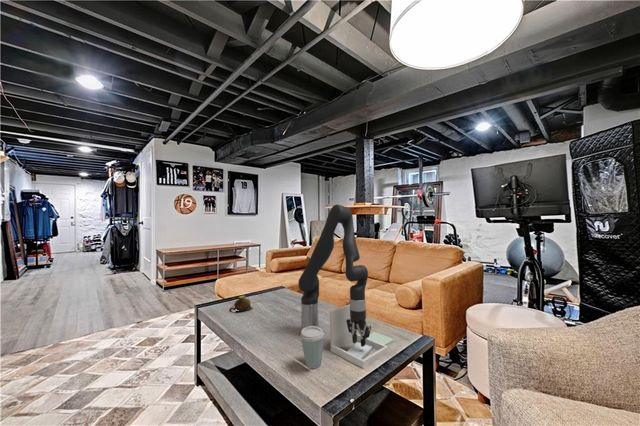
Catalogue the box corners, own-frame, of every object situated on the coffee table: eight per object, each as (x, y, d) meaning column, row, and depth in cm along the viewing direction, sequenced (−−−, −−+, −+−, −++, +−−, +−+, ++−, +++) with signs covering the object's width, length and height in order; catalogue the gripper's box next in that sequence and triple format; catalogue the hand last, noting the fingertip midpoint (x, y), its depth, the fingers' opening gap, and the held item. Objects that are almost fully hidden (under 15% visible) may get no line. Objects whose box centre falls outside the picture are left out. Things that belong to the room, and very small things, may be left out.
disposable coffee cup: (330, 366, 113) (329, 331, 113) (309, 375, 107) (308, 338, 107) (316, 355, 122) (315, 323, 122) (296, 363, 116) (295, 329, 116)
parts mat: (382, 349, 126) (382, 346, 126) (362, 340, 135) (362, 337, 135) (394, 342, 133) (393, 339, 133) (374, 334, 142) (374, 331, 142)
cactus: (247, 303, 200) (247, 290, 200) (258, 308, 188) (258, 294, 188) (225, 309, 188) (225, 296, 188) (236, 315, 176) (235, 300, 176)
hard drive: (360, 358, 116) (372, 346, 126) (344, 352, 121) (357, 341, 131) (360, 361, 116) (372, 349, 126) (344, 356, 121) (357, 345, 131)
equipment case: (363, 368, 111) (362, 323, 111) (330, 351, 126) (329, 311, 126) (389, 352, 123) (388, 311, 123) (356, 338, 138) (355, 302, 138)
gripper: (375, 309, 121) (376, 346, 121) (351, 302, 132) (352, 336, 132) (364, 314, 116) (365, 352, 116) (341, 306, 127) (342, 341, 127)
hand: (358, 344), depth 124 cm, fingers open, 4 cm apart
